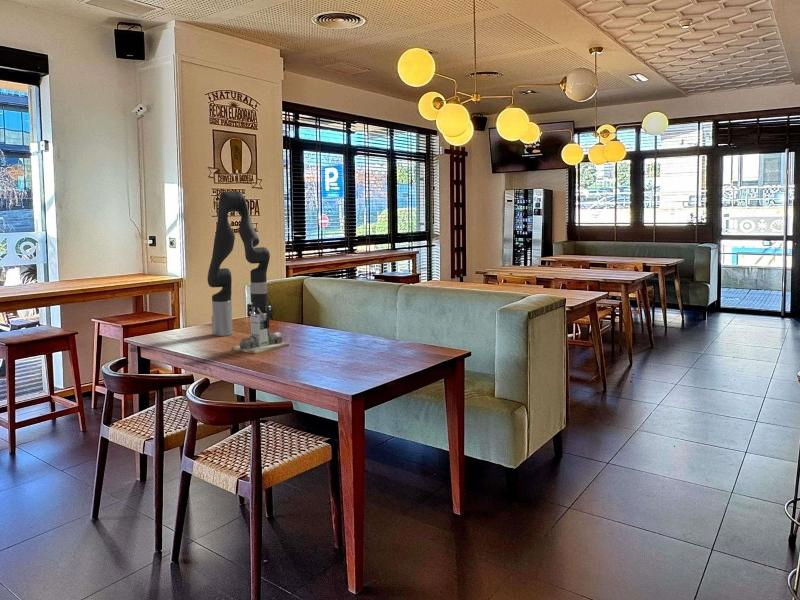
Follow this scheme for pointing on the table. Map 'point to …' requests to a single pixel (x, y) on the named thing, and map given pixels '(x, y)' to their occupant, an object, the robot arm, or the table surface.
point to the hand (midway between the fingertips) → (260, 327)
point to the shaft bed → (251, 347)
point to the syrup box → (259, 330)
